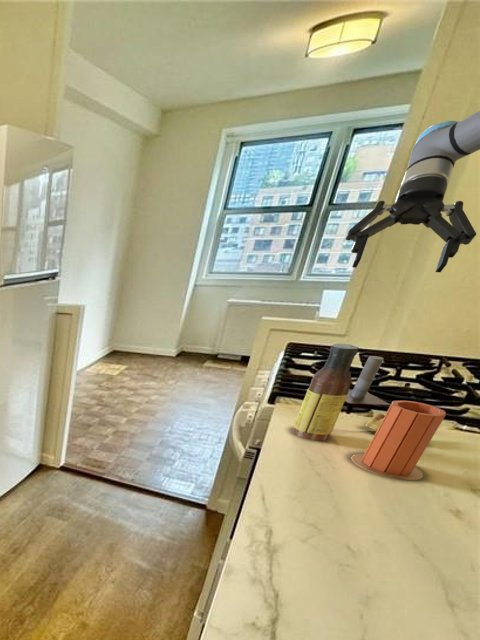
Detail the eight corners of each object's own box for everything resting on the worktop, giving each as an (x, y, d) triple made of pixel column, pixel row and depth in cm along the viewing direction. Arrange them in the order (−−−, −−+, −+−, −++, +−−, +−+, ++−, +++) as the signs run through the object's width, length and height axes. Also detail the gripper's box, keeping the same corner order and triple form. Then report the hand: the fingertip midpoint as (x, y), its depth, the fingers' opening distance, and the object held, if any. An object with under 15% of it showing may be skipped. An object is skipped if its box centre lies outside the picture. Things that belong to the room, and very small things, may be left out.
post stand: (361, 396, 123) (383, 352, 117) (388, 410, 115) (413, 364, 109) (322, 394, 124) (342, 351, 118) (346, 408, 116) (368, 363, 111)
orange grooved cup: (391, 457, 95) (424, 401, 89) (421, 476, 88) (457, 416, 83) (352, 455, 95) (382, 399, 90) (379, 473, 89) (412, 415, 84)
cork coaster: (394, 457, 96) (395, 454, 96) (437, 484, 87) (438, 481, 87) (338, 454, 97) (339, 451, 97) (374, 480, 89) (376, 477, 88)
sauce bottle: (333, 438, 103) (377, 347, 94) (319, 445, 100) (363, 353, 91) (297, 427, 108) (335, 339, 99) (283, 433, 105) (321, 344, 96)
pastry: (430, 442, 101) (440, 426, 99) (414, 450, 98) (424, 433, 96) (374, 425, 108) (382, 409, 106) (358, 431, 106) (366, 416, 104)
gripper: (494, 200, 105) (470, 281, 102) (345, 200, 119) (319, 272, 116) (516, 172, 99) (490, 258, 96) (355, 175, 113) (329, 250, 110)
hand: (397, 266), depth 106 cm, fingers open, 13 cm apart
